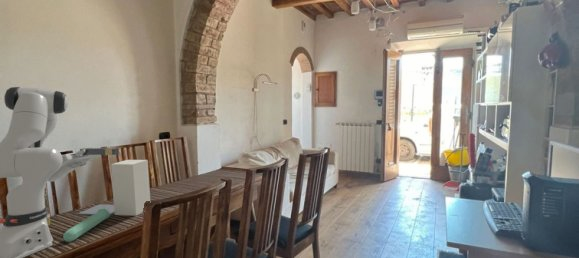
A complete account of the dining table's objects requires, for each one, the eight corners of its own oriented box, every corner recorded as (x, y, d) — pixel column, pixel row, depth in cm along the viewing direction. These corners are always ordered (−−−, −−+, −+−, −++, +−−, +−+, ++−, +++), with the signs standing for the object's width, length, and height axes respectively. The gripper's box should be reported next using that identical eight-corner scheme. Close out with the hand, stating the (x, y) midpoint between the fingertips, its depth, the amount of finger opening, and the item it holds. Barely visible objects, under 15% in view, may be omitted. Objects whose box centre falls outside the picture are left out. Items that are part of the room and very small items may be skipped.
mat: (109, 215, 151) (109, 214, 151) (78, 214, 153) (78, 213, 153) (128, 206, 165) (128, 205, 165) (99, 205, 167) (99, 204, 167)
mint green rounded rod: (70, 228, 121) (106, 206, 145) (56, 234, 121) (95, 211, 145) (77, 241, 121) (111, 217, 146) (64, 247, 121) (100, 222, 146)
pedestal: (136, 215, 150) (132, 164, 148) (114, 214, 151) (110, 164, 149) (150, 207, 162) (147, 159, 159) (130, 206, 163) (127, 159, 161)
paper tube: (27, 229, 136) (22, 174, 134) (44, 223, 143) (39, 171, 141) (38, 230, 134) (32, 175, 132) (54, 224, 140) (49, 172, 138)
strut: (114, 154, 153) (113, 149, 153) (79, 154, 156) (79, 149, 156) (119, 153, 157) (119, 148, 157) (85, 153, 160) (85, 148, 160)
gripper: (48, 161, 150) (68, 147, 147) (82, 154, 170) (100, 142, 167) (54, 171, 150) (74, 158, 147) (88, 163, 170) (106, 151, 167)
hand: (88, 149), depth 157 cm, fingers closed on strut, 3 cm apart
